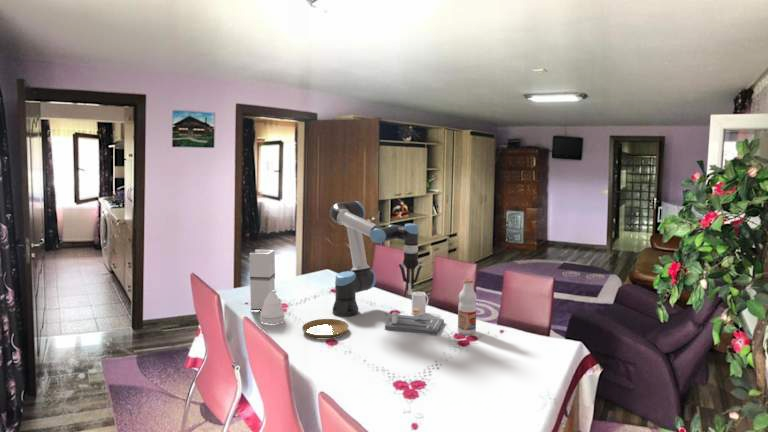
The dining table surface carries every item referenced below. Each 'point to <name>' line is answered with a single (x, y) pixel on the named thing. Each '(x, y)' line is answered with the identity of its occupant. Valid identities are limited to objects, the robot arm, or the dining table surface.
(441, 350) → the dining table surface
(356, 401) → the dining table surface
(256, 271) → the tall grey box
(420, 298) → the mug
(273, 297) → the honey pot
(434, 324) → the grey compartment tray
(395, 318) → the fader
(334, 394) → the dining table surface
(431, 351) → the dining table surface
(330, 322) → the plant saucer
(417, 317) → the fader
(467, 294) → the fruit juice
